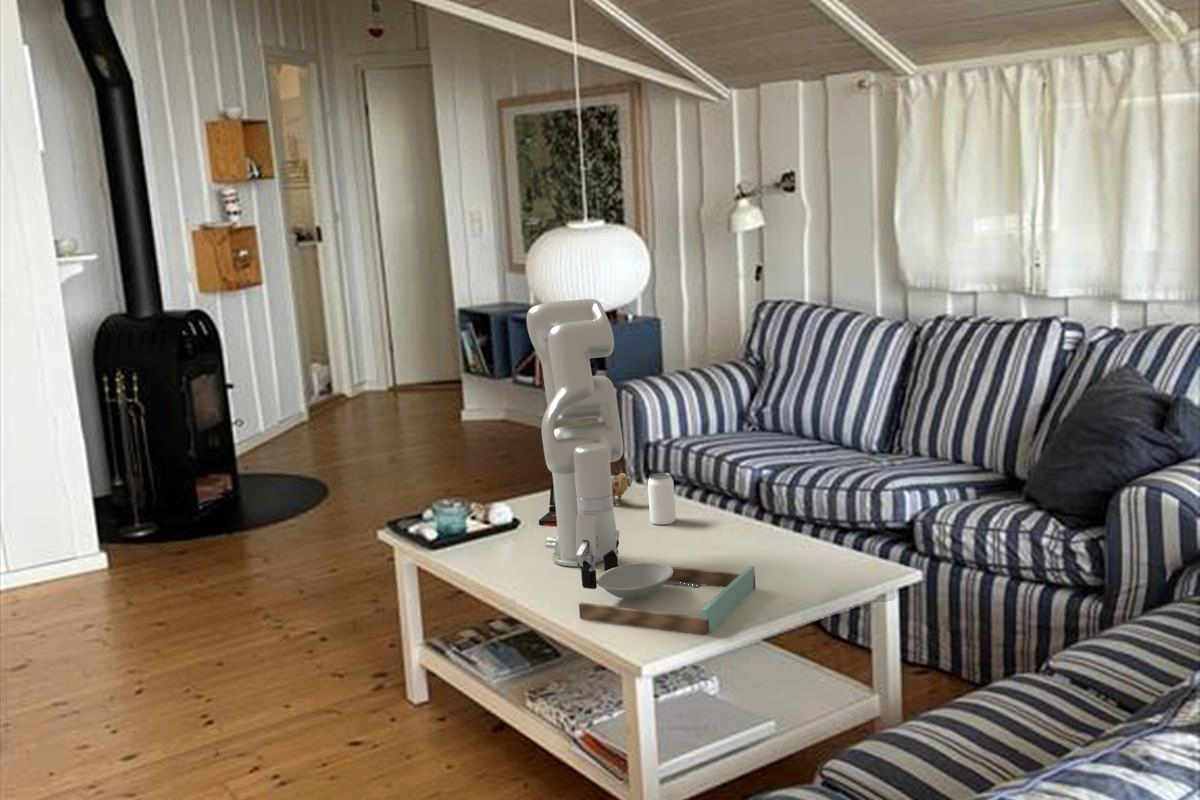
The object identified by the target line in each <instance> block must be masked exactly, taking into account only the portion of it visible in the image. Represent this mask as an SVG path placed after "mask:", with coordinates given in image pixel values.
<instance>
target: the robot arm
mask: <svg viewBox="0 0 1200 800" xmlns="http://www.w3.org/2000/svg"><path fill="white" fill-rule="evenodd" d="M526 314H527V315H526V329H527V332H528V335H529V338H530V342H531V344H532V346H533V348H534V350H535V352H536V355H537V356H538V358H539V360H540V363H541V368H542V375H543V383H544V390H545V391H544V392H545V400H546V404H547V408H546V409H545V412H544V414H543V417H542V422H541V439H542V440H541V441H542V445H543V446H542V447H543V453H544V459H545V463H546V466H547V467H546V468H547V469H548V470H549V471H550V473H552V478H553V484H554V495H555V506H556V518H557V526H556V528H557V529H556V530H557V538H555V537H547V538H546V539H545V546H544V547H545V548H546V549H553V550H554V553H553V554H552V560H553V562H554V563H556V564H557V565H560V566H565V567H578V568H579V570H580V572H581V573H580V575H581V584H582V585H581V586H582V588H584V589H590V590H596V589H597V588H598V584H597V571H596V569H595V566H596V564H598V563H600V562H603V569H604V571H603V572H605V571H607V570H609V569H612V568H615V567H618V566H619V558H618V557H619V556H618V555H619V549H618V547H619V544H620V541H619V538H620V530H618V529H617V527H616V518H615V513H614V507H613V497H612V483H611V478H612V472H611V470H612V469H611V463H614V462H617V461H619V460H620V459H621V458H622V456H623V455H624V441H623V434H622V426H621V420H620V413H619V407H618V400H617V395H616V390H615V386H614V384H613V382H612V380H610V378H609V377H607V376H605V375H593V373H592V367H591V359H596V358H597V359H598V358H606V357H609V356H611V355H612V353H613V351H614V347H615V338H614V331H613V329H612V325H611V322H610V320H609V318H608V316H607V314H606V312H605V309H604V307H603V305H602V303H601V302H600V301H599V300H597V299H595V298H583V299H574V300H559V301H551V302H544V303H543V302H542V303H539V304H536V305H533V306H532V307H531V308H530V309H528V311H527V313H526ZM591 418H595V419H596V420H598V422H590V423H579V424H578V423H577V424H570V425H564V426H559V427H557V428H555V424H556V421H570V420H571V421H573V420H574V421H575V420H580V419H591ZM594 569H595V570H594Z"/></svg>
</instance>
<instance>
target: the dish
mask: <svg viewBox="0 0 1200 800" xmlns="http://www.w3.org/2000/svg"><path fill="white" fill-rule="evenodd" d="M672 567H673V566H671V567H670V565H668V564H666V563H661V562H655V561H654V562H653V561H643V562H642V561H641V562H633V563H627V564H626V563H625V564H623V565H618V567H615V568H612V569H609V570H607V571H603V572H602V573H600V574H599V575H598V577H596V581H597V586H598V587H600V588H602V589H604V590H605V591H606V592H607V593H608V594H610V595H613V596H614V597H617V598H620V599H627V600H629V599H634V600H639V599H641V598H645V597H647V596H649V595H652V594H654V593H655V592H657V591H659V590H660V589H661V588H663V586H664V585H666V584H665V582H666V581H667V580H668V579H669V578H670V577H671V576H672V575H673V569H672Z"/></svg>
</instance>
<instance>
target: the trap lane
mask: <svg viewBox="0 0 1200 800" xmlns="http://www.w3.org/2000/svg"><path fill="white" fill-rule="evenodd" d="M669 566H670V565H669ZM670 567H672V569H673V575H672V576H671V577H670V578H669V579H668V580H667V581H666V582H665V584H664V585H669V584H673V585H672V586H678V585H682V586H681V587H687V586H691V587H690V588H696V587H698V586H699V585H700V584H705V585H704V586H710V585H712V587H719V586H722V587H721V588H724V589H722V590H721V591H720V592H719V593H718V594H717V595H716V596H714V598H712V599H711V600H709V602H708V603H707V604H706V605H704V606H703V607H702V608H701V610H700V612H701V613H700V614H701V616H694V615H685V614H677V613H670V612H669V613H668V612H661V611H654V610H653V611H652V610H645V609H636V608H628V607H622V606H612V605H606V604H605V605H604V604H597V603H596V604H595V603H589V602H580V603H578V611H579V619H583V620H592V621H600V622H607V623H614V624H620V625H621V624H623V625H630V626H638V627H644V626H645V628H652V627H653V628H652V629H660V628H661V630H668V631H669V630H670V631H677V632H682V631H683V632H684V633H685V632H686V633H691V632H692V634H698V633H700V634H701V635H706V634H708V633H709V634H710V633H711V632H712V631H713V630H714V629H715V628H717V626H718V625H719V624H720V623H722V622H723V620H724V619H726V618H727V617H726V616H729V615H730V614H731V613H732V612H733V611H734V610H735V609H736V608H737V607H738V606H740V604H742V602H743V601H744V600H745V599H746V598H748V597H749V595H751V594H752V593H753V592H754V591H755V590H756V574H755V573H756V571H755V565H749V566H748V567H747V568H745V570H743V571H742V572H741V573H739V572H727V571H717V570H709V569H699V568H690V567H679V566H670ZM680 582H681V583H680ZM684 583H685V584H684ZM688 584H689V585H688ZM692 584H693V587H692ZM683 585H684V586H683ZM696 585H697V586H696ZM713 585H714V586H713ZM700 586H701V585H700ZM700 586H699V587H700ZM699 587H698V588H699ZM709 634H708V635H709Z"/></svg>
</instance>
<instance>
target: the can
mask: <svg viewBox="0 0 1200 800" xmlns="http://www.w3.org/2000/svg"><path fill="white" fill-rule="evenodd" d="M648 477H649V478H648V481H647V492H648V507H649V520H650V522H651V524H652V523H653V525H655V524H656V525H655V526H667V524H668V525H671V524H670V523H672V524H674V523H675V522H676V520H677V519H676V518H677V517H676V514H677V513H676V501H675V500H676V499H675V498H676V497H675V487H674V486H675V485H674V480H673V477H672V474H671V473H668V472H657V473H651V474H650V475H649V476H648ZM674 521H675V522H674ZM673 522H674V523H673Z"/></svg>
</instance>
